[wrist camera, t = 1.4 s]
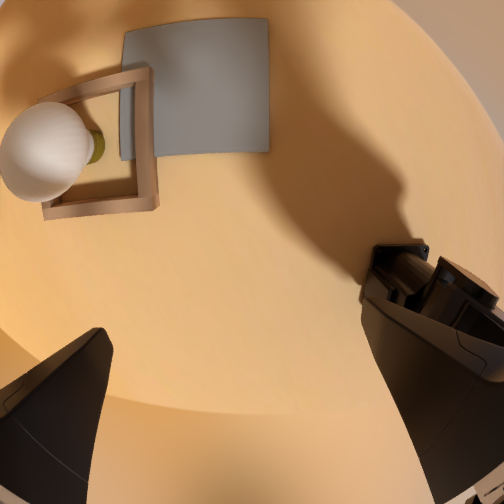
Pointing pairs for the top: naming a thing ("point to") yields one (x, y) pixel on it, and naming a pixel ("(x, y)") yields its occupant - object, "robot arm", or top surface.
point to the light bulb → (47, 151)
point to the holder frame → (143, 146)
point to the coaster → (201, 86)
